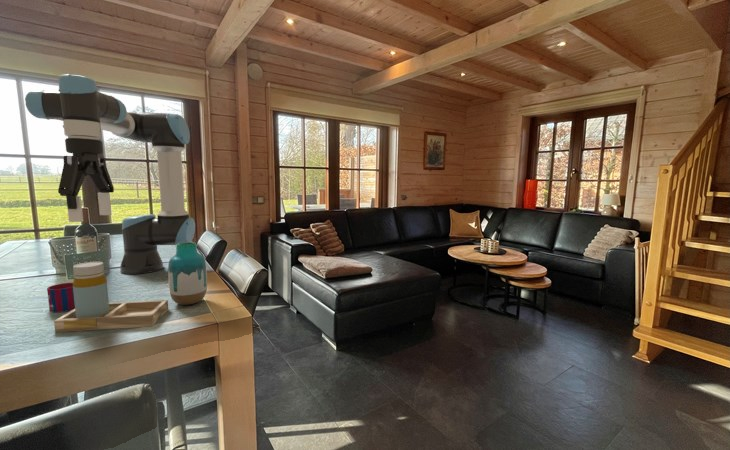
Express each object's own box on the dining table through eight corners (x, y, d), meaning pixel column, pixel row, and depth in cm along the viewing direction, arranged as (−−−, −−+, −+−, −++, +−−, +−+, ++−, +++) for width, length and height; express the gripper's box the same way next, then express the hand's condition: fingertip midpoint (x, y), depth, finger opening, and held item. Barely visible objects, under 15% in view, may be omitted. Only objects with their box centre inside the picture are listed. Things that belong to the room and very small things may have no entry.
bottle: (90, 325, 86) (85, 268, 84) (69, 322, 87) (63, 266, 85) (116, 314, 92) (111, 262, 90) (95, 312, 94) (91, 260, 92)
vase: (215, 301, 106) (212, 242, 104) (182, 312, 97) (179, 248, 95) (195, 294, 112) (192, 239, 109) (162, 304, 103) (159, 244, 100)
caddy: (83, 314, 94) (82, 304, 94) (168, 309, 99) (167, 299, 98) (54, 332, 83) (53, 321, 83) (151, 326, 87) (150, 315, 87)
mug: (46, 308, 98) (44, 286, 97) (89, 299, 106) (87, 278, 105) (53, 314, 94) (50, 291, 93) (96, 304, 102) (94, 282, 101)
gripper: (94, 142, 99) (102, 212, 102) (30, 132, 75) (42, 225, 78) (123, 143, 100) (129, 212, 103) (69, 133, 76) (79, 224, 79)
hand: (92, 218), depth 91 cm, fingers open, 13 cm apart
